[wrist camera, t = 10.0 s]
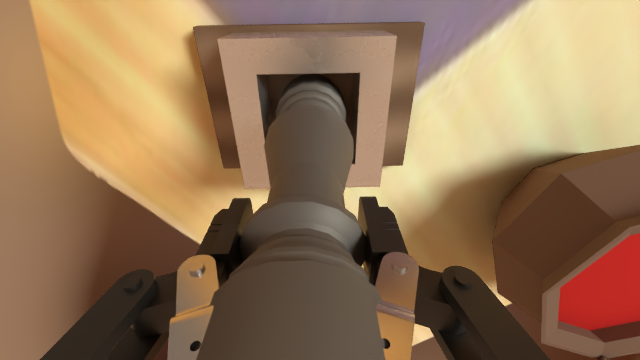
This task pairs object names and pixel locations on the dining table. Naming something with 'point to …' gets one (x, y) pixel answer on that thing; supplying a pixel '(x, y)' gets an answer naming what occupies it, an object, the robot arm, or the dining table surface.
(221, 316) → the candle holder
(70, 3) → the dining table surface
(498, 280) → the brown cauldron
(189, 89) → the dining table surface
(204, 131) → the dining table surface
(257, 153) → the square collar
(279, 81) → the socket board
